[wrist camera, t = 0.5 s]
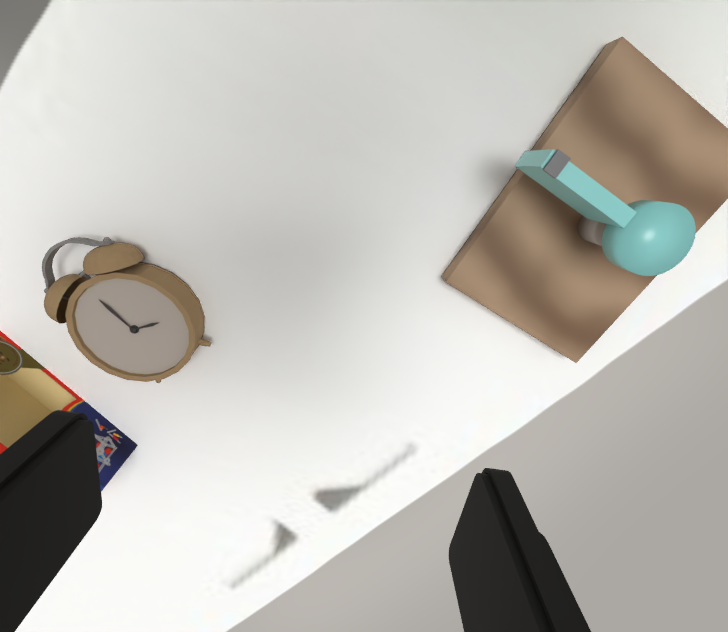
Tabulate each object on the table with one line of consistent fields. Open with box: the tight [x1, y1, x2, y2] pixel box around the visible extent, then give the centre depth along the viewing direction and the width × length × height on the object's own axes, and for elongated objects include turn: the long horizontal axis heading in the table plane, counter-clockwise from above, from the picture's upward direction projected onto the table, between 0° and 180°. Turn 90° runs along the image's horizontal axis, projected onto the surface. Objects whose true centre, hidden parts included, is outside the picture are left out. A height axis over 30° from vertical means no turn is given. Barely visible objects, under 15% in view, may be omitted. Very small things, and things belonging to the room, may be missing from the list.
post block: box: [442, 37, 728, 363], centre depth 32 cm, size 22×16×7 cm
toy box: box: [0, 331, 137, 491], centre depth 37 cm, size 18×4×12 cm, turn 37°
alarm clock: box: [42, 237, 211, 383], centre depth 37 cm, size 11×5×15 cm
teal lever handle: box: [515, 149, 696, 276], centre depth 28 cm, size 12×5×5 cm, turn 58°
